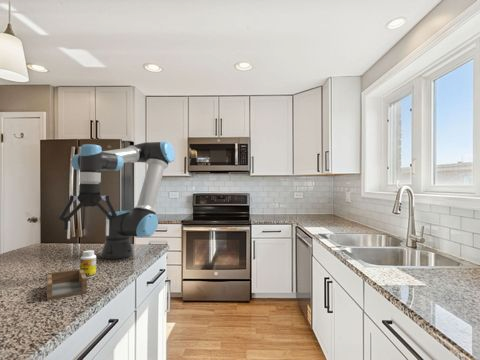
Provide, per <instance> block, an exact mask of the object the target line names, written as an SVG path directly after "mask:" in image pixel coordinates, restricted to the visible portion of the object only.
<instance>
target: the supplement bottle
mask: <svg viewBox="0 0 480 360" xmlns="http://www.w3.org/2000/svg"><path fill="white" fill-rule="evenodd" d="M79 263H80V264H79V269H83V271H84V273H85V275H86V278H87V279H91V278H95V276H96V275H97V274H96V273H97V255H96V254H95V250H94V249H86V250H83V251H82V255H81V256H80V262H79Z"/></svg>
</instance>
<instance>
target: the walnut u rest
mask: <svg viewBox="0 0 480 360" xmlns="http://www.w3.org/2000/svg"><path fill="white" fill-rule="evenodd" d="M46 275H47V276H46V299H47V301H53V300H58V299H63V298H69V297H74V296H78V295H86V294H87V293H88V290H87V289H88V278H86V275H85V273H84V271H83V269H80V268H78V269H70V270H62V271H55V272H48V273H46Z"/></svg>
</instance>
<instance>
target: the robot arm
mask: <svg viewBox="0 0 480 360" xmlns="http://www.w3.org/2000/svg"><path fill="white" fill-rule="evenodd" d="M175 155H176V154H175V149H174V147H173V145H172V144H171V142H169V141H151V142H149V141H147V142H141V143H137V144H131V145H128V146H126V147H124V148H118V149H110V150H102V146H101V145H99V144H98V145H97V144H94V143H93V144H92V143H91V144H90V143H87V144H86V143H85V144H82V145H81V146H80V153H78V154H74V155H73V156H72V157H71V160H70V162H71V167H72V168H73V169H74V170H76V171H79V180H78V182H79V183H80V184H79V185H78V188H79V189H78V195H70V196H68V202H67V203H66V204H65V207H64V208H63V210H61V211H62V212H61V213H60V215H59V217H58V220H60V221H63V222H64V223H63V228H64V230H66V233H67V235H66V238H67V240H70V239H71V219H72V218H73V216H74V215H75V214H77V212H78V211H79V210H80V209H81V208H82V207H84V208H88V207H90V208H91V207H92V208H93V207H94V208H95V207H97V208H98V209H99V210H100V211H101V212H102V213H103V214H104V215H105V216H106V217H105V240H104V241H105V242H104V245H103V247H102V251H101V256H100V257H101V259H106V260H116V259H117V260H119V259H125V258H129V257H132V256H133V255H134V249H133V245H132V242H131V237H132V238H134V237H135V238H149V237H152V236H153V235H155V232H156V231H157V228H158V227H159V226H158V225H159V219H158V216H157V215H156V214H157V212H156V210H155V207H156V202H157V198H158V194H159V191H160V186H161V182H162V178H163V176H164V171H165V169H167V168H168V167H169V163H172V162H173V161H174V160H175ZM126 163H131V164H134V163H144V164H145V163H146V164H147V169H146V172H145V175H144V180H143V183H142V187H141V190H140V193H139V198H138V201H137V204H136V206H134V207H132V210H130V209H129V210H120V211H115V210H114V207H113V205H112V203H111V202H110V196H109V195H102V194H101V184H100V183H101V181H102V180H101V177H102V171H111V172H114V171H117V172H118V171H121V170H122V168H123V167H124V164H126ZM76 200H78V201H79V203H78V204H77V205H76V207H74V209H72V210H71V211H70V212H69V213H68V211H69V209H70V208H71V206H72V204H73V202H76ZM101 200H103V201H104V202H105V204H106V206H107V208H108V210H109V212H108V210H106V209H105V208H104V207H103V205H102V204H101V203H100V201H101ZM67 213H68V215H67V216H66V214H67Z"/></svg>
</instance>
